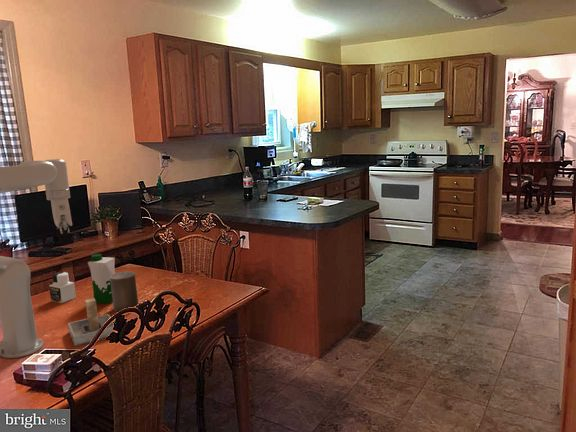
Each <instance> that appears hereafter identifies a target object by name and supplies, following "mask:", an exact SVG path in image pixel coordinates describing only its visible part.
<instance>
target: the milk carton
mask: <svg viewBox="0 0 576 432" xmlns="http://www.w3.org/2000/svg"><path fill="white" fill-rule="evenodd" d="M115 260H116V258H115V257H109V256H107V257H103V256H102V254H101V253H94V254H92V255H91V260H89V261H88V262H87V264H88V268H89V270H90V275H91V283H92V289H93V290H92V291H93V293H92V294H93V298H95V300H96V304H108V305H110V303H113V299H112V290H111V282H110V276H111V275H113V274H116V272H115V271H116V270H115Z"/></svg>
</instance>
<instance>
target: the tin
mask: <svg viewBox="0 0 576 432" xmlns="http://www.w3.org/2000/svg"><path fill="white" fill-rule="evenodd" d="M110 317H111V315H110V314H109V313H107V314H101V315H98V322H99V329H100V328H101V327H102V326H103V324H104V323H105V322H106V321H107V320H108V319H109V318H110ZM114 323H115V322H114ZM114 323H113V322H112V323H111V324H110V325H109V326H108V327H107V328H106V329H105V331H104V332H103V333H102V335H101V336H100V338H99V340H100V341H103V340H102V339H104V340H106V339H105V338H106V337H107V336H108V335H109V334H110V333H112V332H115V331H113V324H114ZM67 328H68V334H69V336H70V338H71V340H72V343H73V345H74V347H75V348H76V347H81V346H84V345H88V344H90V343H89V342H90V341H91V339H92V338H93V337H94V335H95V334H96V333H97V331H98V330H99V329H95V330H91V331H89V325H88V318H83V319H80V320H75V321H71V322H68V323H67Z"/></svg>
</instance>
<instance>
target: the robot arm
mask: <svg viewBox="0 0 576 432" xmlns="http://www.w3.org/2000/svg"><path fill="white" fill-rule="evenodd" d="M69 183H70V182H69V176H68V169H67V162H66V161H65V160H64V159H62V158H61V159H60V158H56V159H55V158H54V159H52V158H51V159H46V160H25V161H22V162H20V163H19V164H17V165H14V166H0V194H6V193H10V192H15V191H20V190H21V191H22V190H29V189H31V188H36V187H41V186H44V187H45V188H44V189H45V195H46V200H47V201H50V205H51V210H52V212H51V213H52V218H53V222H54V224H55V226H56V235H57V240H58V241H60V244H61V246H66V245H71V244H72V237H71V232H70V231H71V230H70V227H72V226H73V221H72V214H71V209H70V203H69V199H70V198H71V191H70V186H69ZM69 226H70V227H69ZM31 296H32V295H31V268H30V266H29V265H28V264H27V263H26V262H25V261H24V260H22V259H19V258H17V257H11V256H10V257H9V256H2V255H0V326H1V327H0V328H1V333H2V338H1V339H2V340H0V356H1V357H2V358H3V359H4V358H5V359H16V358H22V357H23V358H24V357H26V356H29V355H32V354H34V353H36V352H38V351H40V350H41V349H42V348H43V346H44V341H43V339H41V338H40V337H38V334H37V328H36V322H35V316H34V308H33V302H32V297H31Z"/></svg>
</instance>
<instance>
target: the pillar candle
mask: <svg viewBox="0 0 576 432" xmlns="http://www.w3.org/2000/svg"><path fill="white" fill-rule="evenodd" d="M136 281H137V280H136V273H135V271H134V272H133V271H121V272H115V274H113V275H111V276H110V282H111V290H112V299H113V301H112V304H113V305H112V306H113V307H112V308H113V310H114V311H116V312H121V311H120V310H122V309H124V308H128V307H134V306H136V305H137V304H138V305H139V298H138V297H139V296H138V289H137V282H136Z"/></svg>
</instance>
